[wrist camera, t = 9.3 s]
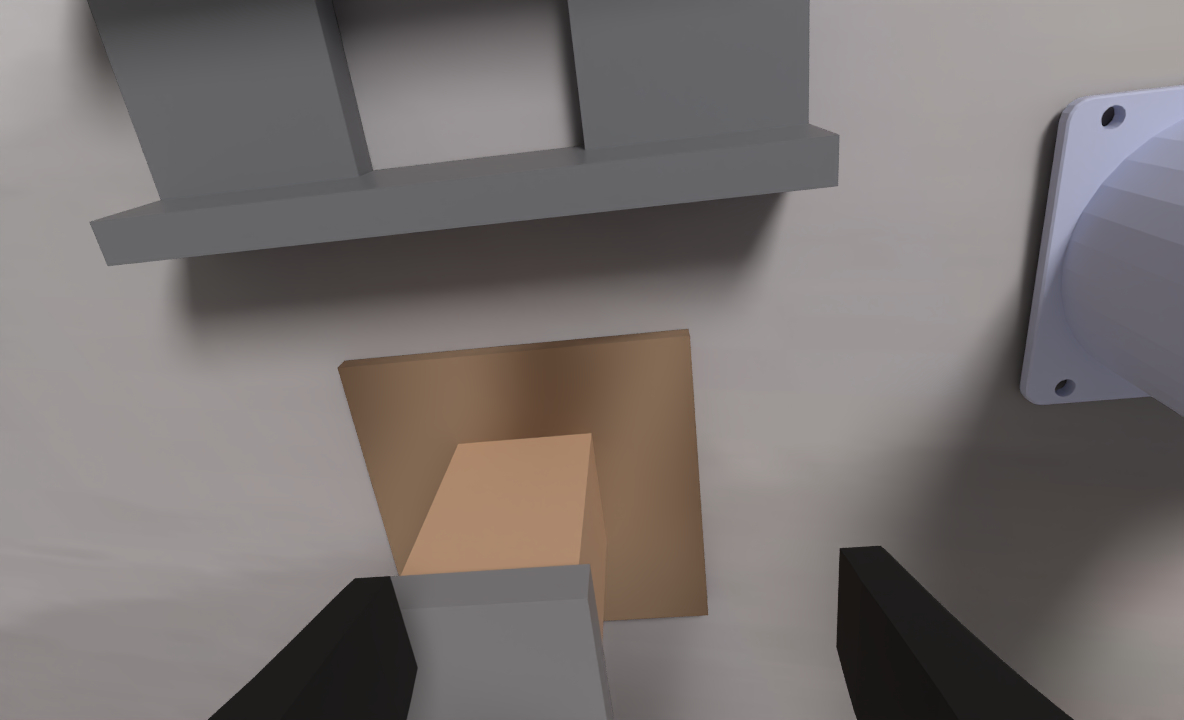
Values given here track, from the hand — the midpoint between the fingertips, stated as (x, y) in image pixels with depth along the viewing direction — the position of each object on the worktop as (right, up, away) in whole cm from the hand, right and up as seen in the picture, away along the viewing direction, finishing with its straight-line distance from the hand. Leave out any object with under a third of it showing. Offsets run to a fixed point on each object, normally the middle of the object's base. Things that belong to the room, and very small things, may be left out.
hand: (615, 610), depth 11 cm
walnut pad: (-2, 0, +10) cm, 11 cm away
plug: (-2, 0, +10) cm, 10 cm away
